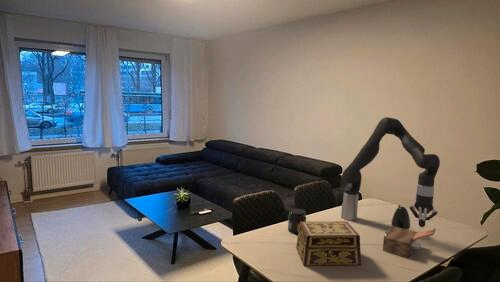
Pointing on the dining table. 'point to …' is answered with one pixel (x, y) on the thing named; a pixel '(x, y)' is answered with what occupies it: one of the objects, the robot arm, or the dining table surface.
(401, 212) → the dark egg shape
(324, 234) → the decorative box
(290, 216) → the supplement container
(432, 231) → the keeper flap
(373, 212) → the dining table surface
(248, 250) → the dining table surface
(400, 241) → the walnut block
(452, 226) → the dining table surface
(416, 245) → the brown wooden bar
